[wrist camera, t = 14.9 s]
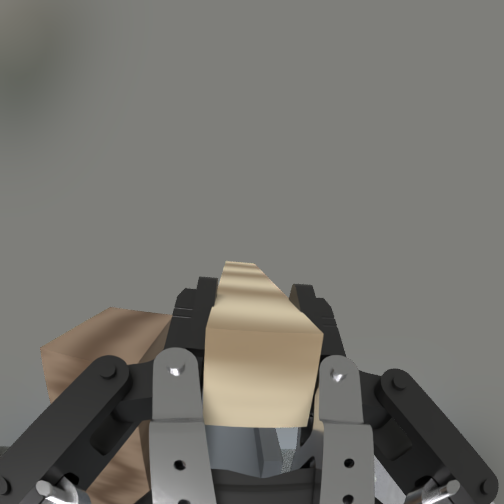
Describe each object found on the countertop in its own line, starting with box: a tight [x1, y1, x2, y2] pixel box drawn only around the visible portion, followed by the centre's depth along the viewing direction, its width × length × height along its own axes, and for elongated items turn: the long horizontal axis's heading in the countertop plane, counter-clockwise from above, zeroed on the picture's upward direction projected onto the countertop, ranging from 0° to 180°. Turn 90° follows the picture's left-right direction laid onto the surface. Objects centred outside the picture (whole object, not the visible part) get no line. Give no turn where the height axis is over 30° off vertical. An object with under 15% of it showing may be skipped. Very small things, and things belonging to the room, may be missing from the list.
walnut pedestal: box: [40, 307, 172, 504], centre depth 25 cm, size 8×15×32 cm, turn 4°
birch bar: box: [203, 261, 324, 428], centre depth 19 cm, size 24×3×3 cm, turn 4°
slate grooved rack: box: [202, 394, 283, 478], centre depth 26 cm, size 8×15×24 cm, turn 4°
